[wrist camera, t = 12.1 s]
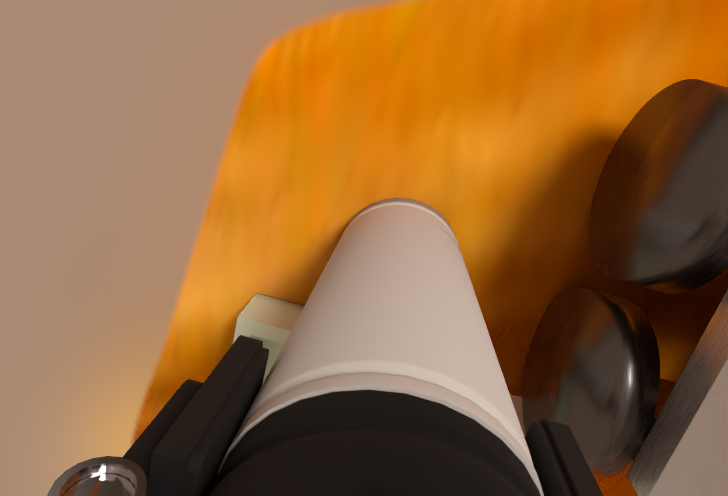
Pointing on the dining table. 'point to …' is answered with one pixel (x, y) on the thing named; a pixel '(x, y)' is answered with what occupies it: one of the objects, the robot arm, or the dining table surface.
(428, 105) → the dining table surface
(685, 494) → the trolley
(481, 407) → the travel mug
